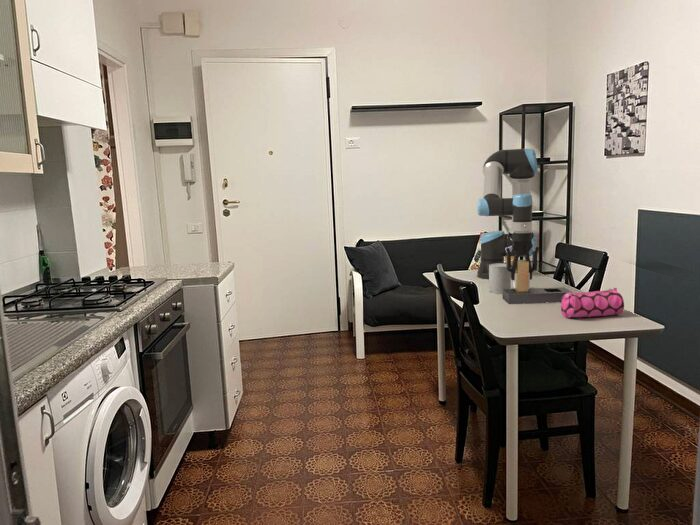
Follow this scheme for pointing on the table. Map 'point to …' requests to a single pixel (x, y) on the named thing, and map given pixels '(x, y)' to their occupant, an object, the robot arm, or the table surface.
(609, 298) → the pencil case
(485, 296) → the table surface
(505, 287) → the gray cylinder
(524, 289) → the brass peg
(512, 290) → the gray slotted block
